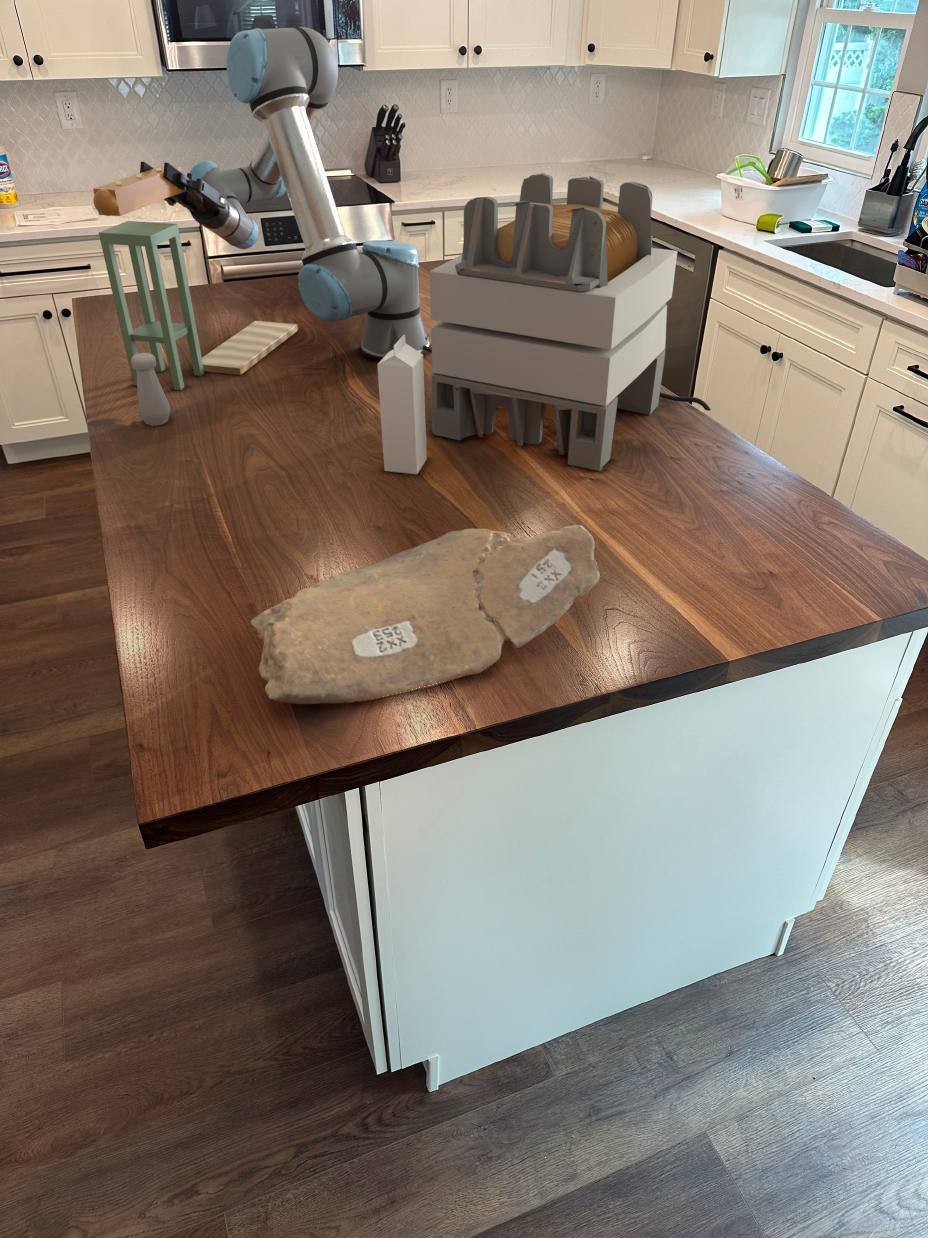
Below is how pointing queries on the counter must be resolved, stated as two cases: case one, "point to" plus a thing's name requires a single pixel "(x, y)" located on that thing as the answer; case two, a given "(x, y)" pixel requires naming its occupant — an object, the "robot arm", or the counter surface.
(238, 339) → the bread board
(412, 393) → the milk
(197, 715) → the counter surface
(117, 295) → the green shelf
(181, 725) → the counter surface
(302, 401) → the counter surface
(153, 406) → the salt shaker
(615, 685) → the counter surface
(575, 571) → the rock
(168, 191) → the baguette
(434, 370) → the transformer
